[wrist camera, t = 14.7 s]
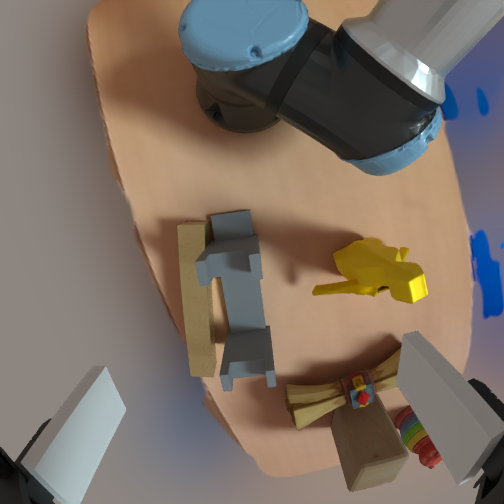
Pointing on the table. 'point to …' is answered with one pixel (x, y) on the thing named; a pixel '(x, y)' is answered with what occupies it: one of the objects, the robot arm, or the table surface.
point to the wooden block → (367, 445)
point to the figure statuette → (376, 272)
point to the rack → (239, 297)
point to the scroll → (340, 392)
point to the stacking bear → (417, 438)
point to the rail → (196, 299)
